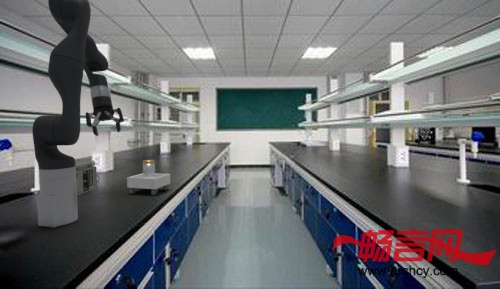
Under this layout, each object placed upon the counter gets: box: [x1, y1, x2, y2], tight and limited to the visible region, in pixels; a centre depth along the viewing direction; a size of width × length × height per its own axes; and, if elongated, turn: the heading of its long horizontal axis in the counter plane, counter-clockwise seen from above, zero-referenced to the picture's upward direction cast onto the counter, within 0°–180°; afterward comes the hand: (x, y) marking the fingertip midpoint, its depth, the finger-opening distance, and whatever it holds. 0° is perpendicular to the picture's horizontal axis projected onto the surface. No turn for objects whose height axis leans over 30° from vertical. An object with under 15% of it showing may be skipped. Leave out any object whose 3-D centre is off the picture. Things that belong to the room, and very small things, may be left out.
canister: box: [142, 159, 156, 178], centre depth 120 cm, size 5×5×10 cm
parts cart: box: [126, 172, 171, 196], centre depth 120 cm, size 12×14×8 cm
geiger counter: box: [75, 159, 100, 197], centre depth 121 cm, size 14×6×25 cm
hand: (107, 133), depth 113 cm, fingers open, 8 cm apart
